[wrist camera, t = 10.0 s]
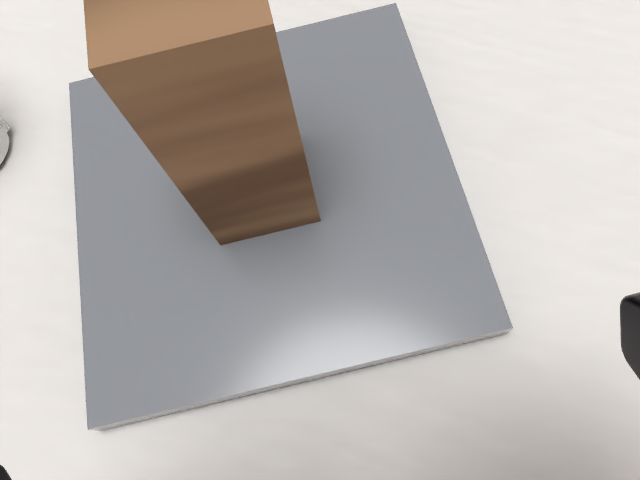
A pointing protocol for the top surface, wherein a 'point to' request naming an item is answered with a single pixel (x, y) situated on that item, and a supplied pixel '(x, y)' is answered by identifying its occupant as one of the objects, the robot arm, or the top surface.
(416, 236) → the slate plate
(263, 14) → the brown wooden block
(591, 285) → the top surface
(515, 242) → the top surface
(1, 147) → the photo printer
